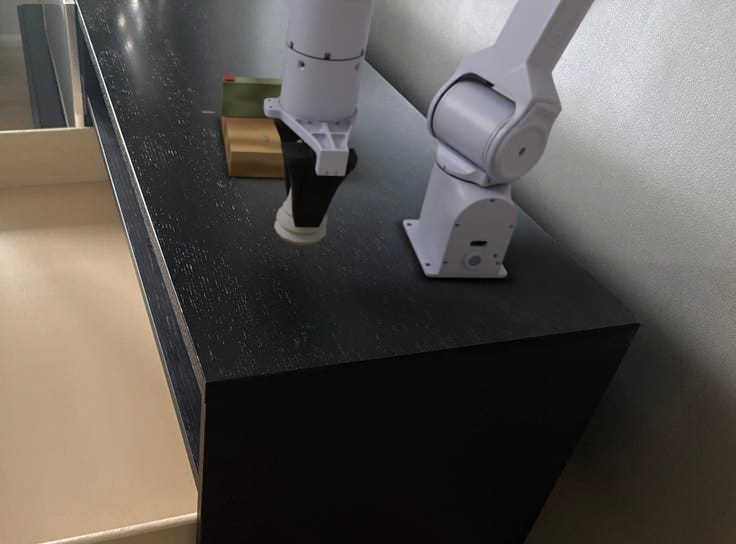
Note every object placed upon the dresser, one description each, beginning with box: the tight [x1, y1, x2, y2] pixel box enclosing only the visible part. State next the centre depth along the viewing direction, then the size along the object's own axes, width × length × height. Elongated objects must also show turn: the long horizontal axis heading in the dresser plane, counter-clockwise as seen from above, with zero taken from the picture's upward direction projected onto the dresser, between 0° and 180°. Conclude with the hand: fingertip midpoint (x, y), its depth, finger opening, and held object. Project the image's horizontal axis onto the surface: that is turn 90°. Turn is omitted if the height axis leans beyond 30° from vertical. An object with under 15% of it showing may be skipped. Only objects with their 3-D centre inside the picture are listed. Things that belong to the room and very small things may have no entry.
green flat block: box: [219, 74, 282, 118], centre depth 86 cm, size 9×2×4 cm, turn 96°
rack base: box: [201, 110, 285, 179], centre depth 87 cm, size 16×15×3 cm
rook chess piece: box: [273, 140, 328, 246], centre depth 61 cm, size 4×4×8 cm
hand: (302, 211), depth 63 cm, fingers closed on rook chess piece, 3 cm apart
